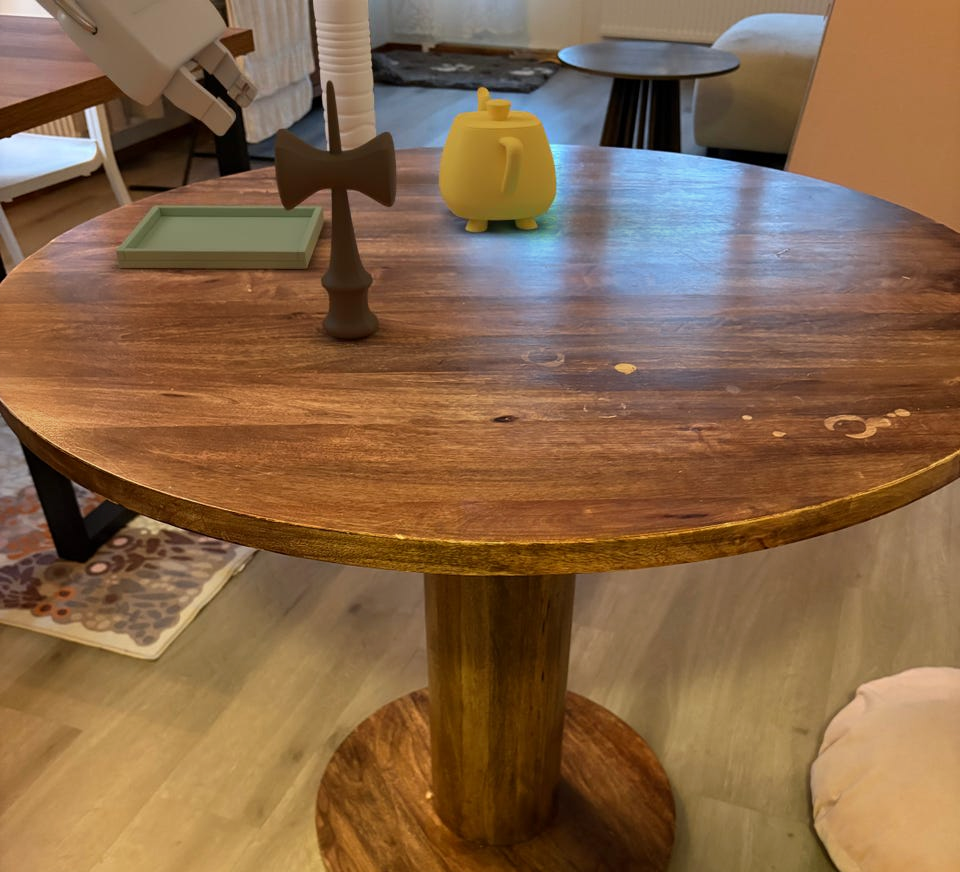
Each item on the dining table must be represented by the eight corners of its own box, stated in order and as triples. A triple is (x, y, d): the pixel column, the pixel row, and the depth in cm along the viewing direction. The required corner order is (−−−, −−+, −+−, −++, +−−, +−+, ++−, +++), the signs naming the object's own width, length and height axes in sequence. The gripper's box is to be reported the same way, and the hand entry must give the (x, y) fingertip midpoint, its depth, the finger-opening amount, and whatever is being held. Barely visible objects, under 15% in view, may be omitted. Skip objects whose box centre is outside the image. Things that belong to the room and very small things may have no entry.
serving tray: (119, 268, 96) (115, 250, 94) (157, 221, 107) (153, 205, 106) (307, 269, 96) (305, 251, 95) (324, 222, 108) (322, 206, 106)
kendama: (302, 319, 86) (272, 72, 73) (404, 318, 86) (393, 72, 73) (294, 345, 81) (260, 88, 68) (402, 345, 82) (390, 88, 69)
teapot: (530, 190, 118) (534, 79, 110) (571, 241, 103) (579, 117, 95) (427, 195, 116) (424, 82, 108) (454, 248, 101) (452, 122, 93)
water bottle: (327, 175, 123) (305, -59, 106) (375, 173, 124) (361, -59, 107) (333, 194, 116) (311, -52, 100) (384, 191, 117) (370, -53, 101)
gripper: (53, -71, 56) (240, 110, 62) (143, -90, 71) (286, 57, 78) (5, 16, 59) (188, 180, 65) (101, -20, 74) (242, 116, 81)
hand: (241, 113), depth 72 cm, fingers open, 8 cm apart
